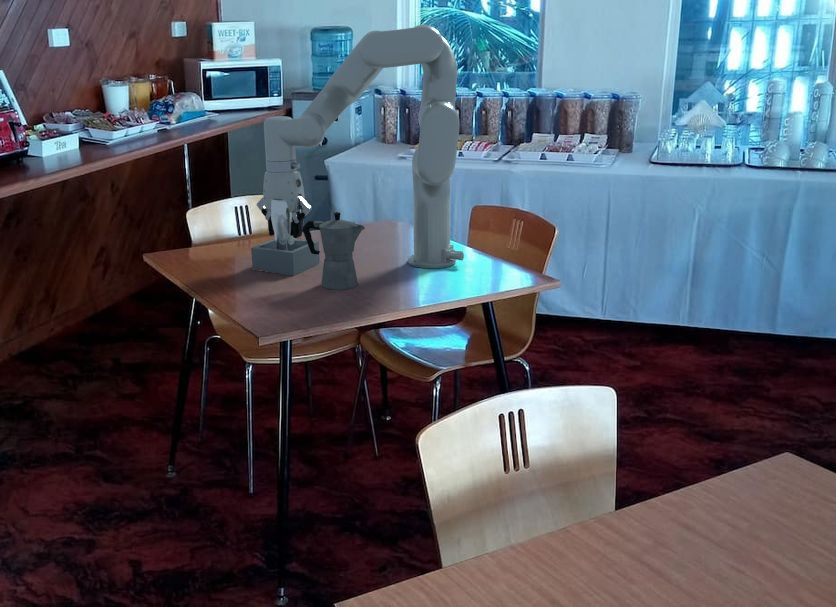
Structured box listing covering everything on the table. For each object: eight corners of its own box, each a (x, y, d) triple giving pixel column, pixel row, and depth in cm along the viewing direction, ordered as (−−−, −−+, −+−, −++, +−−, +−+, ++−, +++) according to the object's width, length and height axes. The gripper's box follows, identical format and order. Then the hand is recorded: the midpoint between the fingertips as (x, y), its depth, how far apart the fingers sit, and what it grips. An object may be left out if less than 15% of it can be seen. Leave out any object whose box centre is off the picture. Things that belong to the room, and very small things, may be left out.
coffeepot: (370, 280, 226) (369, 209, 220) (360, 292, 217) (358, 217, 212) (311, 277, 229) (308, 206, 223) (298, 288, 220) (295, 215, 215)
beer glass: (297, 258, 234) (295, 200, 229) (270, 258, 234) (267, 200, 229) (301, 251, 241) (299, 195, 236) (275, 251, 241) (272, 195, 236)
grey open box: (319, 263, 241) (318, 241, 239) (294, 275, 230) (292, 252, 229) (279, 258, 246) (278, 237, 244) (252, 270, 235) (251, 247, 234)
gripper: (318, 166, 230) (322, 235, 235) (261, 162, 237) (265, 229, 243) (303, 171, 223) (306, 242, 229) (244, 166, 231) (249, 236, 236)
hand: (285, 235), depth 236 cm, fingers closed on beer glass, 6 cm apart
